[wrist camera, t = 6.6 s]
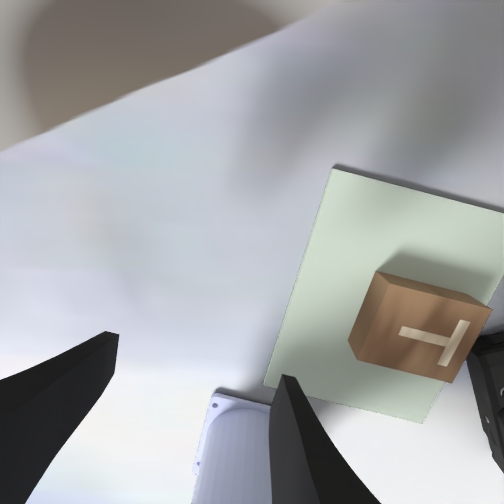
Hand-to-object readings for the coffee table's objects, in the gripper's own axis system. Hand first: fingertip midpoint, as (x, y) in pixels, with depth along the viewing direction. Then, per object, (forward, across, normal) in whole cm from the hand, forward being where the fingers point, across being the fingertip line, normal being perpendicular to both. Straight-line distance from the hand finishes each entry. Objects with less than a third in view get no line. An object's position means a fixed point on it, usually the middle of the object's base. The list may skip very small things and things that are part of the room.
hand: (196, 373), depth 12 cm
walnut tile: (+8, -10, -1) cm, 13 cm away
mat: (+10, -12, -1) cm, 16 cm away
